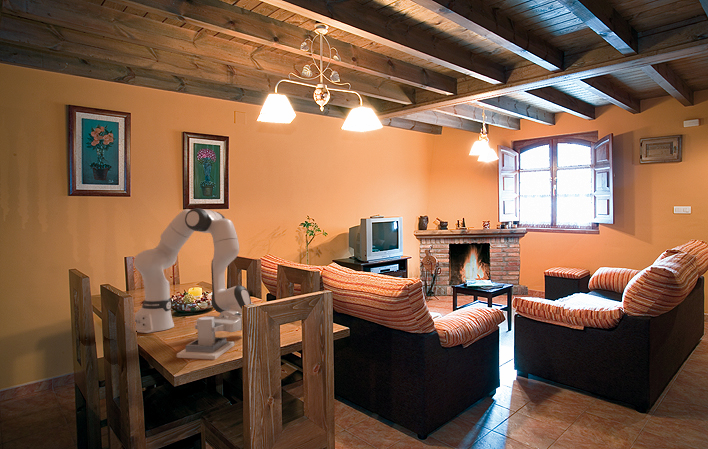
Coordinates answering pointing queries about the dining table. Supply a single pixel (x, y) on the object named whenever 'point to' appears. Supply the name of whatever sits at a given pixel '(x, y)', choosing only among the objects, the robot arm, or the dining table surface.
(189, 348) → the collar
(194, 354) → the collar board
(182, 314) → the dining table surface
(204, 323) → the skincare box
